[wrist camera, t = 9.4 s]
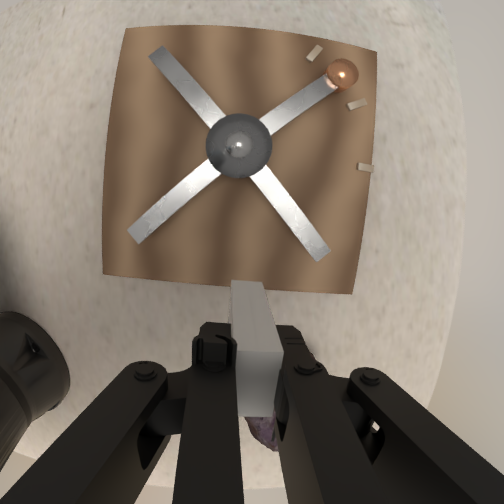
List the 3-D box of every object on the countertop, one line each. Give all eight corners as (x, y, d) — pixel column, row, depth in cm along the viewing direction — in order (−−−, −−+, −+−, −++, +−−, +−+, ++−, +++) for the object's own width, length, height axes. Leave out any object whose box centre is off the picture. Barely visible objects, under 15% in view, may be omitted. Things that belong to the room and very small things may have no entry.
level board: (108, 270, 32) (100, 276, 29) (130, 33, 26) (123, 25, 23) (347, 289, 33) (354, 296, 31) (371, 56, 27) (379, 49, 25)
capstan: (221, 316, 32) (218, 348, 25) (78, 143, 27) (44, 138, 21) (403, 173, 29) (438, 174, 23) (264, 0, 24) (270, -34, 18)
